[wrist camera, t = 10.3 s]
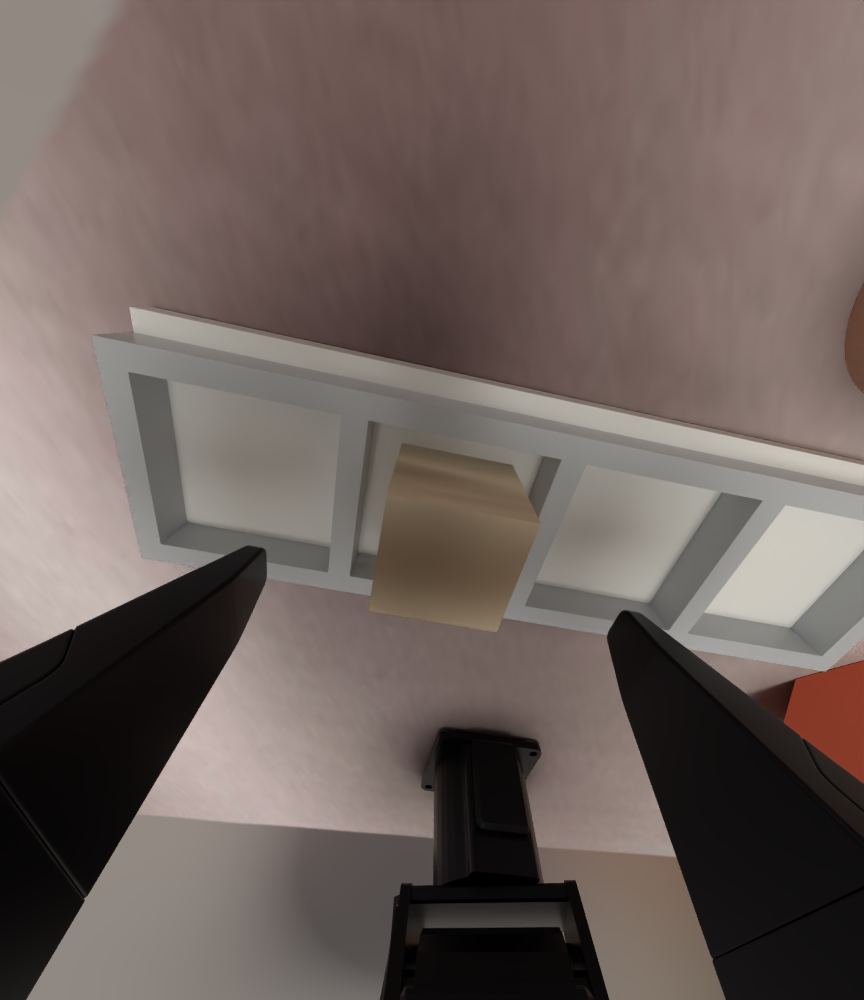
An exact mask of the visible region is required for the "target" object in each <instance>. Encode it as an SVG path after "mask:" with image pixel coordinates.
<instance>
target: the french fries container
mask: <svg viewBox="0 0 864 1000" xmlns="http://www.w3.org/2000/svg"><path fill="white" fill-rule="evenodd" d="M784 723H785V724H786V725H787V726H789V727H790V728H791V729H793V730H794V731H795V732H796V733H798V734H799V735H800V736H801V738H804V739H806V740H807V741H808V742H810V743H811V744H812V745H814V746H815V747H816V748H817V749H819V750H820V751H821V752H823V753H824V754H825V755H827V756H828V757H829V758H831V759H832V760H833V761H834V762H836V763H837V764H838V765H840V766H841V767H842V768H844V769H845V770H846V771H848V772H849V773H850V774H852V775H853V776H854V777H856V778H857V779H858V780H860V781H861V782H862V783H864V661H861V662H857V663H854V664H850V665H846V666H843V667H839V668H835V669H831V670H828V671H826V672H820V673H817V674H813V675H809V676H806V677H802V678H798V679H796V680H795V684H794V687H793V691H792V694H791V698H790V702H789V705H788V709H787V712H786V716H785V719H784Z"/></svg>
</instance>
